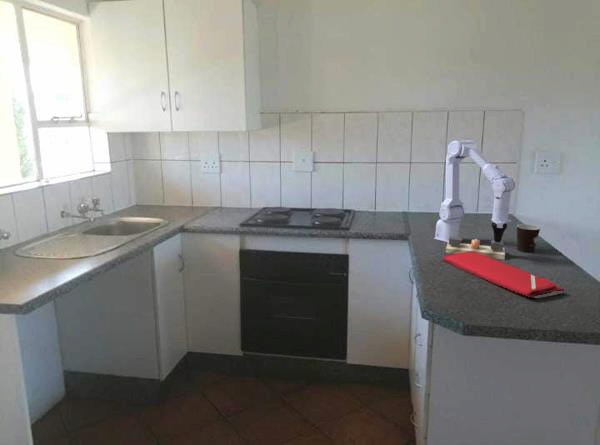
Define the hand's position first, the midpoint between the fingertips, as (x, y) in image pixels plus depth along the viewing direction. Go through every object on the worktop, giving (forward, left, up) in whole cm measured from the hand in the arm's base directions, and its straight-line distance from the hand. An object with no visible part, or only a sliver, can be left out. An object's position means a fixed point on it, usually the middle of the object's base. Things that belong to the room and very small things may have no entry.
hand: (497, 241), depth 186 cm
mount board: (-7, -4, -6) cm, 10 cm away
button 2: (0, 0, -3) cm, 3 cm away
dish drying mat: (+13, -22, -6) cm, 26 cm away
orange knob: (-7, -4, -4) cm, 9 cm away
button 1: (-14, -8, -3) cm, 16 cm away
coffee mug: (+5, +17, -6) cm, 19 cm away
